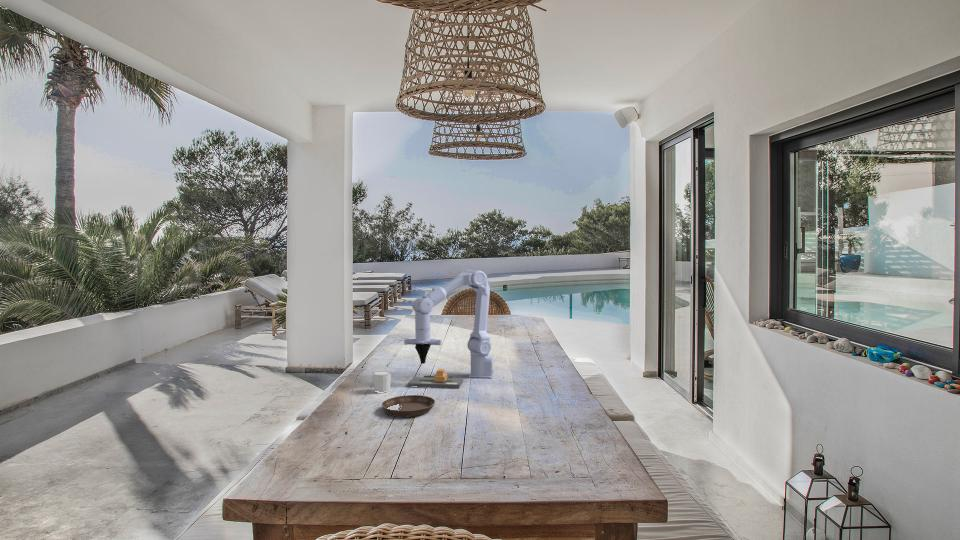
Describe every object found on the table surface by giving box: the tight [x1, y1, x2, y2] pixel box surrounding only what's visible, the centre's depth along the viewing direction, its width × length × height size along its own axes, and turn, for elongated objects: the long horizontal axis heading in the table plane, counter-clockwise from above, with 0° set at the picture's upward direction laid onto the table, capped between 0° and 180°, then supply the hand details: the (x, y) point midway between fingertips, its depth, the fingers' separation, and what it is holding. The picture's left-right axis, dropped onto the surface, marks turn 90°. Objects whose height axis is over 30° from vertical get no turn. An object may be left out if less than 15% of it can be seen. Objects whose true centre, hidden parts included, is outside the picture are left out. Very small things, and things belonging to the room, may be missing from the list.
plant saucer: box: [381, 394, 436, 418], centre depth 196 cm, size 18×18×3 cm
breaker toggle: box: [433, 368, 448, 382], centre depth 229 cm, size 4×5×4 cm
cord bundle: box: [423, 375, 454, 378], centre depth 238 cm, size 12×2×1 cm, turn 82°
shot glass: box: [372, 370, 392, 392], centre depth 220 cm, size 7×7×7 cm
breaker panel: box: [407, 376, 464, 390], centre depth 230 cm, size 20×10×2 cm, turn 82°
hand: (423, 363), depth 230 cm, fingers closed
